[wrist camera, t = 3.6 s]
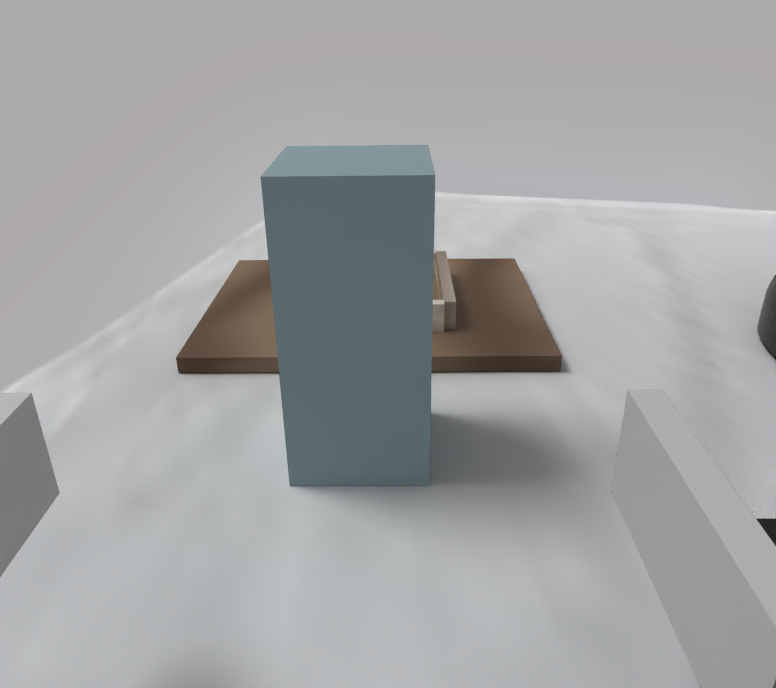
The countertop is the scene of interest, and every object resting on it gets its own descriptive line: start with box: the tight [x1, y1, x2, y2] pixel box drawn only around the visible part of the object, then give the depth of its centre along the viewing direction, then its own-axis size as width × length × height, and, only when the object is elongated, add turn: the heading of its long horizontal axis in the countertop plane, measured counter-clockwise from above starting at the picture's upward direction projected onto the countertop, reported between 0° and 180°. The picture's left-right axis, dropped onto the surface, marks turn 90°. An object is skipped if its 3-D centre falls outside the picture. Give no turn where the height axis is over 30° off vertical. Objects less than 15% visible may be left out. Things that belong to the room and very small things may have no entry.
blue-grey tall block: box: [261, 145, 435, 486], centre depth 24 cm, size 5×5×11 cm
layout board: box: [176, 250, 562, 373], centre depth 37 cm, size 18×14×2 cm
